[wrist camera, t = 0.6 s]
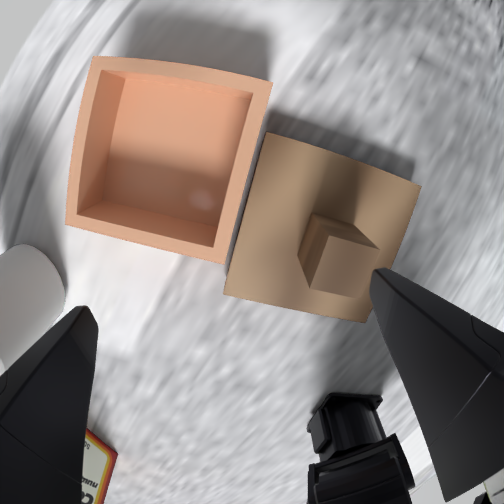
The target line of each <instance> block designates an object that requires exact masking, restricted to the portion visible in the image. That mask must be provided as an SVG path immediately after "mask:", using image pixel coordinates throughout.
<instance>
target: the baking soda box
mask: <svg viewBox="0 0 504 504" xmlns="http://www.w3.org/2000/svg"><path fill="white" fill-rule="evenodd" d="M117 456H118V453H116V452H115V451H114V450H112V449H111V448H110V447H109V446H107V445H106V444H105V443H104V442H102V441H101V440H100V439H99V438H98V437H96V436H95V435H94V434H93V433H92V432H91V431H89V430H88V429H87V428H86V437H85V447H84V459H83V476H82V504H104V500H105V497H106V493H107V490H108V486H109V483H110V479H111V476H112V472H113V469H114V466H115V463H116V459H117Z"/></svg>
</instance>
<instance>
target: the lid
mask: <svg viewBox="0 0 504 504" xmlns="http://www.w3.org/2000/svg"><path fill="white" fill-rule="evenodd" d="M421 187H422V186H419V185H417V184H415V183H412V182H410V181H408V180H405V179H403V178H401V177H398V176H396V175H393V174H391V173H388V172H386V171H383V170H381V169H378V168H376V167H373V166H370V165H368V164H365V163H363V162H360V161H357V160H354V159H352V158H349V157H346V156H343V155H340V154H337V153H334V152H331V151H328V150H325V149H322V148H319V147H316V146H313V145H310V144H307V143H304V142H300V141H297V140H294V139H290V138H287V137H283V136H280V135H276V134H273V133H269V132H266V133H265V136H264V140H263V143H262V147H261V151H260V154H259V158H258V161H257V165H256V169H255V172H254V176H253V180H252V183H251V187H250V191H249V194H248V198H247V202H246V206H245V209H244V213H243V217H242V221H241V224H240V228H239V232H238V236H237V240H236V243H235V247H234V251H233V255H232V259H231V263H230V266H229V270H228V274H227V278H226V282H225V286H224V292H223V294H224V295H228V296H233V297H237V298H242V299H246V300H250V301H255V302H260V303H264V304H269V305H274V306H278V307H283V308H288V309H293V310H298V311H303V312H308V313H313V314H318V315H323V316H328V317H334V318H339V319H344V320H350V321H356V322H361V323H365V322H366V320H367V318H368V316H369V314H370V312H371V310H372V308H373V305H372V302H371V299H370V296H369V287H370V281H371V275H372V271H373V270H374V269H377V268H383V267H386V268H388V269H391V266H392V264H393V262H394V259H395V257H396V254H397V252H398V250H399V247H400V245H401V242H402V240H403V237H404V234H405V232H406V229H407V227H408V224H409V221H410V219H411V216H412V213H413V210H414V207H415V205H416V202H417V199H418V196H419V193H420V190H421Z"/></svg>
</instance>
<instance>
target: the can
mask: <svg viewBox="0 0 504 504" xmlns="http://www.w3.org/2000/svg"><path fill="white" fill-rule="evenodd" d="M64 305H65V290H64V286H63V283H62V280H61V277H60V275H59V273H58V271H57V269H56V268H55V266H54V264H53V263H52V262H51V261H50V260H49V259H48V257H47V256H46V255H45V254H44V253H42V252H41V251H39V250H38V249H36V248H35V247H33V246H30V245H26V244H20V245H15V246H13V247H12V248H10V249H9V250H7V251H6V252H4V253H3V254H1V255H0V376H1V375H2V374H3V373H4V372H5V371H6V370H8V368H9V367H10V366H11V365H12V364H13V363H14V362H15V361H16V360H17V359H18V358H19V357H20V356H21V355H23V354H24V353H25V352H26V351H27V350H28V349H29V348H30V347H31V346H32V345H33V344H34V343H35V342H36V341H37V340H39V339H40V338H41V337H42V336H43V335H44V333H45V332H46V331H47V330H48V328H49V327H50V326H51V325H52V324H53V322H54V321H55V320H56V319H57V318H58V316H59V315H60V314H61V313H62V311H63V309H64Z"/></svg>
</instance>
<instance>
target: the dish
mask: <svg viewBox="0 0 504 504" xmlns="http://www.w3.org/2000/svg"><path fill="white" fill-rule="evenodd" d="M272 86H273V82H269V81H266V80H262V79H258V78H254V77H250V76H245V75H241V74H237V73H232V72H227V71H222V70H217V69H212V68H207V67H201V66H195V65H189V64H182V63H175V62H167V61H159V60H150V59H139V58H126V57H108V56H93V58H92V62H91V65H90V69H89V72H88V76H87V80H86V84H85V88H84V92H83V96H82V101H81V105H80V110H79V115H78V120H77V125H76V131H75V136H74V142H73V149H72V156H71V163H70V171H69V180H68V190H67V202H66V218H65V225H69V226H72V227H76V228H80V229H84V230H88V231H91V232H95V233H99V234H103V235H107V236H111V237H115V238H119V239H122V240H126V241H130V242H134V243H138V244H142V245H146V246H150V247H154V248H158V249H162V250H166V251H170V252H174V253H178V254H182V255H186V256H190V257H195V258H199V259H203V260H207V261H211V262H215V263H219V264H225V260H226V256H227V252H228V248H229V244H230V240H231V236H232V232H233V229H234V225H235V221H236V217H237V213H238V209H239V205H240V202H241V198H242V194H243V190H244V187H245V183H246V179H247V175H248V172H249V168H250V164H251V160H252V157H253V153H254V150H255V146H256V142H257V139H258V135H259V131H260V128H261V124H262V121H263V117H264V114H265V110H266V106H267V103H268V99H269V96H270V92H271V89H272Z"/></svg>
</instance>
